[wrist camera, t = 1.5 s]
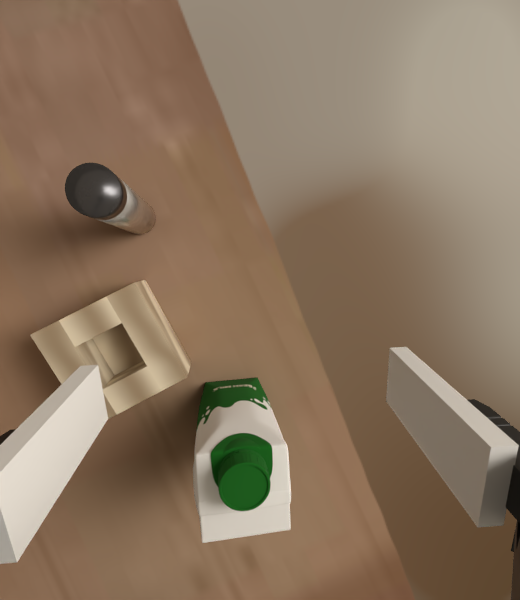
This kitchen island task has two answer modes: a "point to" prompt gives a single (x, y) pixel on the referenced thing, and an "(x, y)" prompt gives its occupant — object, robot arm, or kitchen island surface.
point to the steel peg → (108, 199)
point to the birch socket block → (118, 346)
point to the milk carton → (239, 463)
